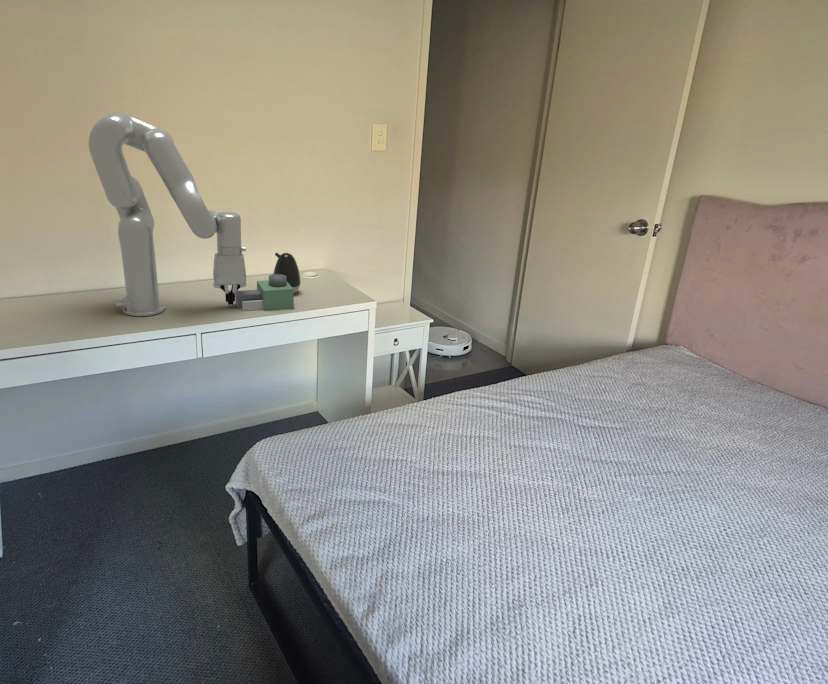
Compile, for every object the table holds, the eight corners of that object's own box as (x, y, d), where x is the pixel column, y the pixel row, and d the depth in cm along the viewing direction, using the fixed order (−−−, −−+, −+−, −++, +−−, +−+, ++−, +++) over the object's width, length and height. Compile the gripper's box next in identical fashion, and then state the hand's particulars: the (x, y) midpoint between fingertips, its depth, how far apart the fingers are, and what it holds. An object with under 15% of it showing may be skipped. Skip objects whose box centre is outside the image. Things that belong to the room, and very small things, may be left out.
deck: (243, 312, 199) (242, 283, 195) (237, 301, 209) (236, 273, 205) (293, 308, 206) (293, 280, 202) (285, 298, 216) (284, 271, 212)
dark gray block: (238, 309, 202) (237, 295, 200) (235, 304, 206) (235, 290, 204) (261, 307, 205) (261, 293, 203) (259, 303, 209) (258, 289, 207)
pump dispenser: (285, 287, 228) (285, 248, 223) (306, 292, 223) (306, 253, 218) (266, 292, 220) (265, 252, 214) (287, 298, 215) (287, 257, 210)
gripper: (250, 247, 202) (250, 299, 208) (204, 248, 195) (205, 301, 202) (254, 253, 195) (254, 306, 202) (207, 253, 189) (208, 308, 196)
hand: (230, 303), depth 202 cm, fingers closed
